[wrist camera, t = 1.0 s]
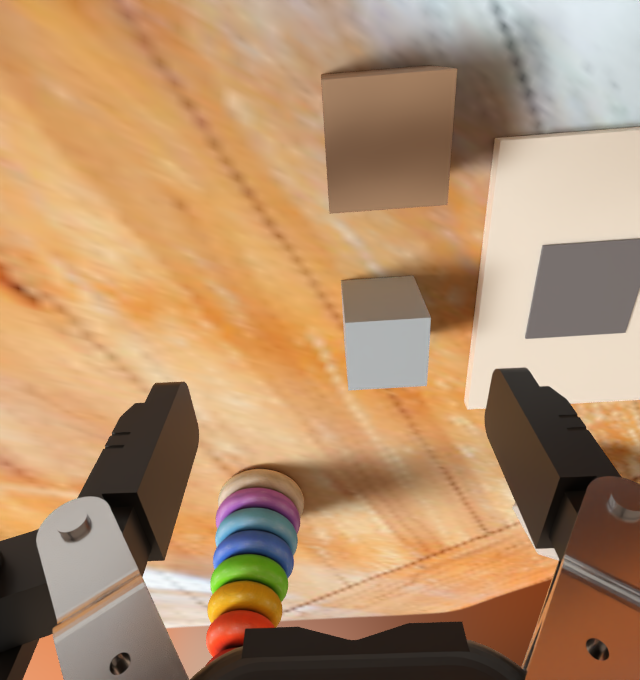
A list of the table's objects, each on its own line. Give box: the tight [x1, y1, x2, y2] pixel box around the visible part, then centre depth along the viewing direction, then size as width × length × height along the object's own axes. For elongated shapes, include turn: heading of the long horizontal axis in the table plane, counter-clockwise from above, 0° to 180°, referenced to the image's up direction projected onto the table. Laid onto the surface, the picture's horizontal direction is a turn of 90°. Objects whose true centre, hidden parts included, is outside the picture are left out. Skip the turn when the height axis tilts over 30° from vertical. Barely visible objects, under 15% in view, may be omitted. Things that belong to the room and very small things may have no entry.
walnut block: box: [321, 65, 457, 214], centre depth 25 cm, size 6×6×6 cm
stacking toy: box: [206, 469, 304, 665], centre depth 36 cm, size 8×8×19 cm
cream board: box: [464, 127, 640, 409], centre depth 32 cm, size 20×14×1 cm
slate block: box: [341, 276, 431, 390], centre depth 31 cm, size 5×5×6 cm
